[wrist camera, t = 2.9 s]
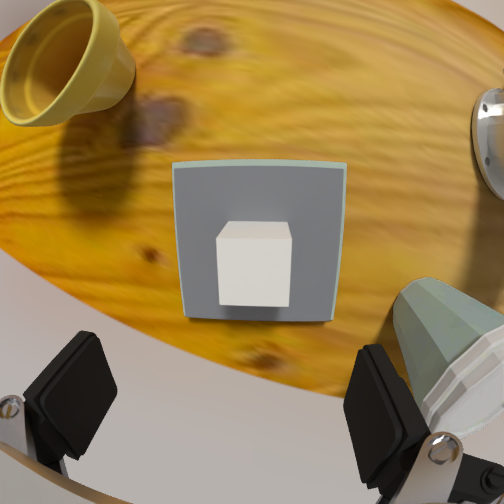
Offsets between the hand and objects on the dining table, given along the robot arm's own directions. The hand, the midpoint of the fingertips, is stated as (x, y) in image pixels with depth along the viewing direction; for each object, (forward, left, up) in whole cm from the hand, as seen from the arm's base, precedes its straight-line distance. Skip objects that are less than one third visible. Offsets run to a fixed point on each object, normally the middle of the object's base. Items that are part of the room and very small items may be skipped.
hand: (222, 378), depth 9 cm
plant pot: (-16, -13, -16) cm, 26 cm away
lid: (0, +1, -15) cm, 15 cm away
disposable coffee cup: (+6, +17, -16) cm, 23 cm away
